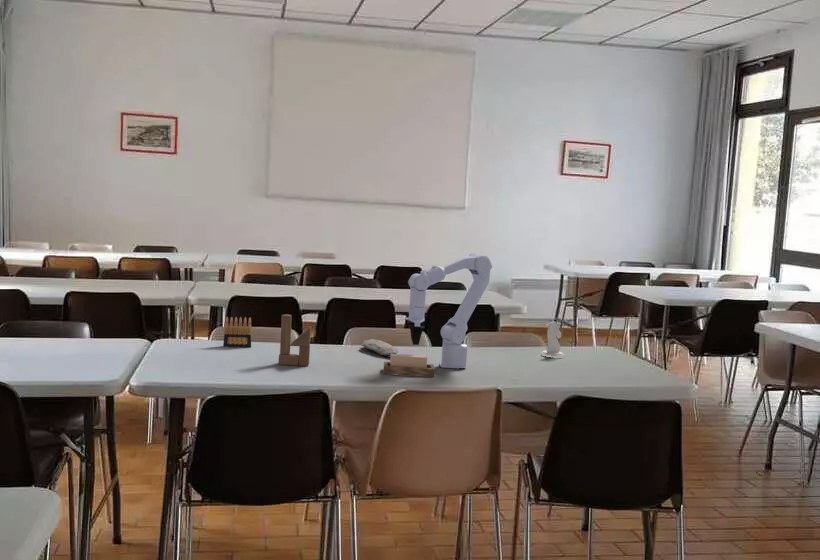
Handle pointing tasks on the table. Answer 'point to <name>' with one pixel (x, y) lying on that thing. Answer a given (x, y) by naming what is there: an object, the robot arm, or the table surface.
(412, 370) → the wooden tray
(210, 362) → the table surface
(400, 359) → the tan rectangular block
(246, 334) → the ammunition clip
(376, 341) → the stone tool
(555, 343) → the chess piece
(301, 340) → the tan wooden block stack
